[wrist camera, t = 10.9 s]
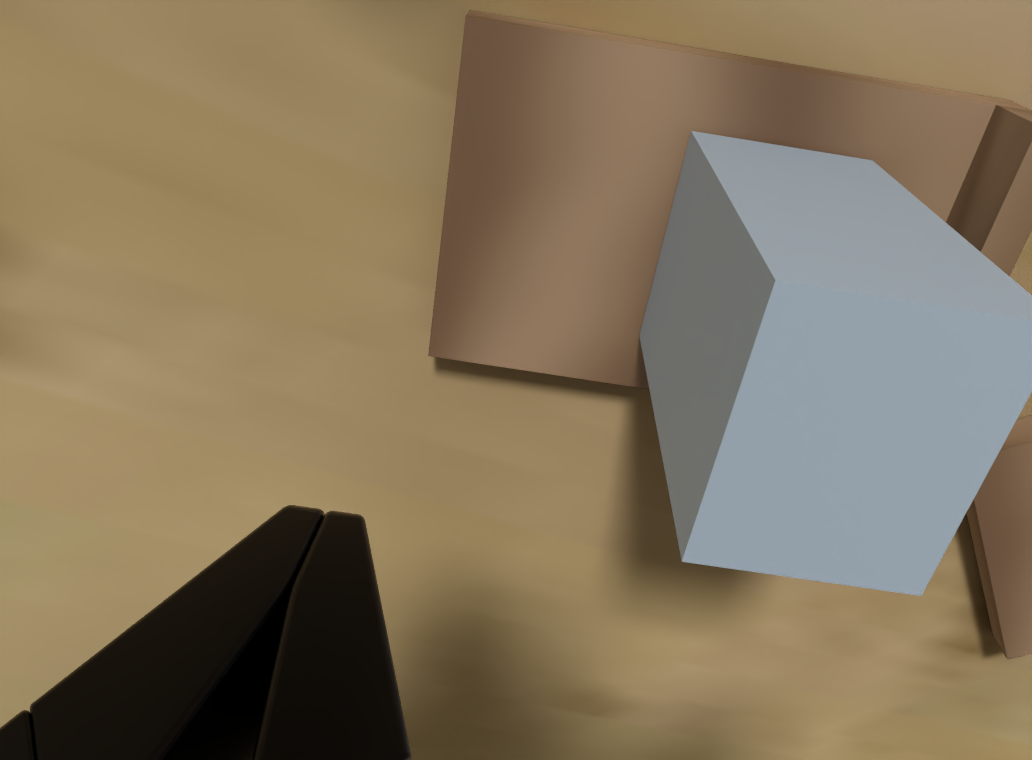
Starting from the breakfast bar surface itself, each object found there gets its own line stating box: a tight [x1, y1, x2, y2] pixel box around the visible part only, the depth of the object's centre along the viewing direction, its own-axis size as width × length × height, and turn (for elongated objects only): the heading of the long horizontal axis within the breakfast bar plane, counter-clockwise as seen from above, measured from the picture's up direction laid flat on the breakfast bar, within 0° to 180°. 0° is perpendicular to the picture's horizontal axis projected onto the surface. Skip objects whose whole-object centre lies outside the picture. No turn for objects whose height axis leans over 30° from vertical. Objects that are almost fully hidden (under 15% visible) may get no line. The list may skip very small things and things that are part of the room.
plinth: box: [428, 10, 1032, 389], centre depth 19 cm, size 12×8×3 cm, turn 81°
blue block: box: [639, 131, 1032, 596], centre depth 16 cm, size 4×5×8 cm
